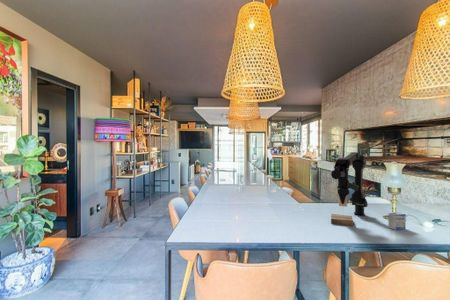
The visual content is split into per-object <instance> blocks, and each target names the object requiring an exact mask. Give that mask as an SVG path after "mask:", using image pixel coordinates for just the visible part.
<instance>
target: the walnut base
mask: <svg viewBox="0 0 450 300" xmlns="http://www.w3.org/2000/svg"><path fill="white" fill-rule="evenodd" d="M330 224H333V225H340V226H349V227H354V219H353V216H352V215H344V214H336V213H331V215H330Z"/></svg>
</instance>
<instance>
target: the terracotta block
mask: <svg viewBox="0 0 450 300" xmlns="http://www.w3.org/2000/svg"><path fill="white" fill-rule="evenodd" d="M338 207H348V195H347V196H346V198H345V202H344V204H342V203H341V200H340V197H339V196H338Z"/></svg>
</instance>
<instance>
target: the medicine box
mask: <svg viewBox="0 0 450 300" xmlns="http://www.w3.org/2000/svg"><path fill="white" fill-rule="evenodd" d="M406 216H407V215H406V213H402V212H390V213H388V217H387V218H388V219H387V221H388V229H392V230H394V231H398V230H399V231H400V230H405V229H406V228H407V227H406V225H407V223H406V220H407V219H406V218H407V217H406Z"/></svg>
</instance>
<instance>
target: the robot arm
mask: <svg viewBox="0 0 450 300" xmlns="http://www.w3.org/2000/svg"><path fill="white" fill-rule="evenodd" d="M334 163H335V164H334V166H333V170H331V173H330V176H331V177H332V178H333V179H334V180H337V185H336V189H337V195H338V198H339V197H340V200H341V203H342V204H344V202H345V198H346V196H347V197H348V195H350V189H351V190H353V191H354V192H353V193H352V194H351V206H354V211H353V214H354V216H362V217H366V213H365V208H367V207H368V206H369V205H368V204H369V203H368V201H367V199H366V195H365V193H364V192H363V191H364V190H363V187H364V186H363V178H364V177H363V175H364V170H365V169H366V165H367V159H366V158H365V156H364V155H362V154H360V152H350V153H349V154H348V155H346V156H344V157H343V156H342V157H338V158H336V160H335V162H334ZM351 166H352V168H353V169H354V181H353V182H350V181H349V172H350V167H351Z"/></svg>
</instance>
